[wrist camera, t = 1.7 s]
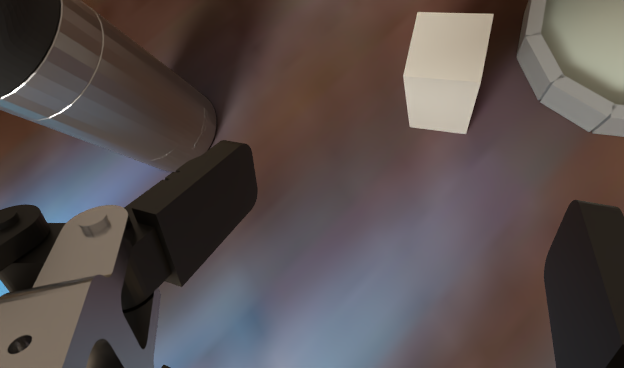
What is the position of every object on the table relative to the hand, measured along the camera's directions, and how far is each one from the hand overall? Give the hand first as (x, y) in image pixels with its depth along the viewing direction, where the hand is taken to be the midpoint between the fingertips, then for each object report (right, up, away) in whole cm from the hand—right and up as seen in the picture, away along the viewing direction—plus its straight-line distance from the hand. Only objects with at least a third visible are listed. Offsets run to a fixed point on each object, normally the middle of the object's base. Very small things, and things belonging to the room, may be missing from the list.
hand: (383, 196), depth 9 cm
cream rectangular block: (+9, +7, +22) cm, 25 cm away
